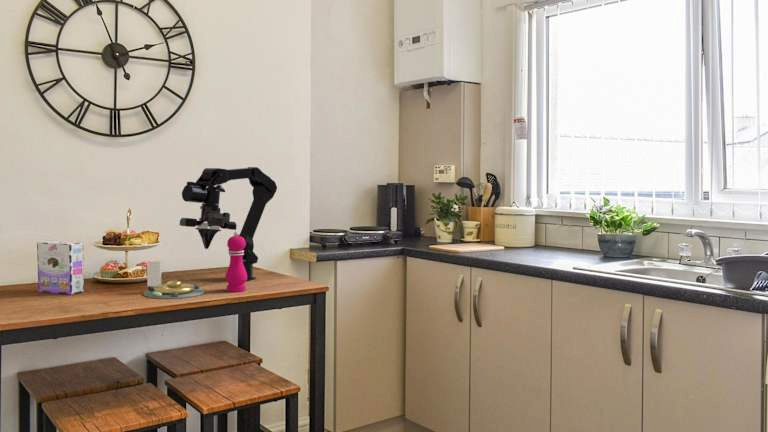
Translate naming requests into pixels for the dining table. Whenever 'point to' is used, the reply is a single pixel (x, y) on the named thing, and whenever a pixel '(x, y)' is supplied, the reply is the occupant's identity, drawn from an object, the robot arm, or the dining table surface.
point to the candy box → (60, 267)
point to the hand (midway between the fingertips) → (206, 248)
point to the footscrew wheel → (171, 286)
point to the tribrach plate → (173, 293)
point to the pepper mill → (236, 264)
